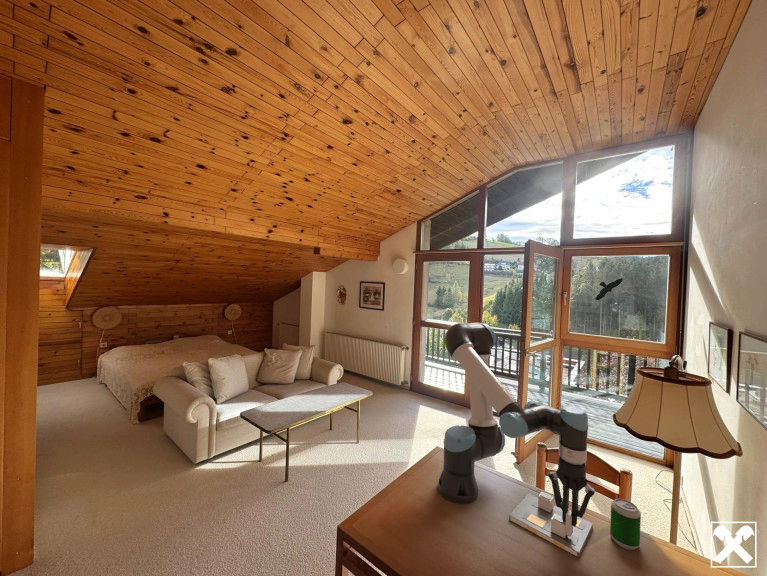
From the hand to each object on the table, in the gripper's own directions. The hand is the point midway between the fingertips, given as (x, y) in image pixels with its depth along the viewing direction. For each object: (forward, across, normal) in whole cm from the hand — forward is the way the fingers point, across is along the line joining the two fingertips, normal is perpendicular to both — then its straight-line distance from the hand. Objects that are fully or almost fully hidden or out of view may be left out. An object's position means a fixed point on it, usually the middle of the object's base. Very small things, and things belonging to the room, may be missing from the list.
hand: (569, 533), depth 100 cm
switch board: (+3, -7, +4) cm, 9 cm away
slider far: (+1, -10, +9) cm, 13 cm away
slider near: (+1, -3, 0) cm, 3 cm away
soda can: (+3, +12, +13) cm, 19 cm away
